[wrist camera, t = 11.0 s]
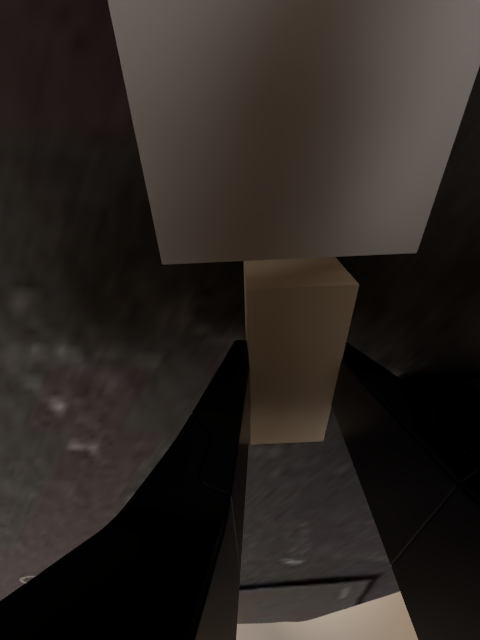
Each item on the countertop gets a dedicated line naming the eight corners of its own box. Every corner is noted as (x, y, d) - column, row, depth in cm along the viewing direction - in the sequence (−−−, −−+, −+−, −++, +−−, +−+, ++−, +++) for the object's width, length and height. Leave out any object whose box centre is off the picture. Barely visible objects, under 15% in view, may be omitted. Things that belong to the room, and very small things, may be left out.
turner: (476, -6, 5) (627, -94, 3) (359, 383, 12) (388, 437, 9) (120, 8, 5) (52, -72, 3) (193, 391, 12) (186, 447, 9)
